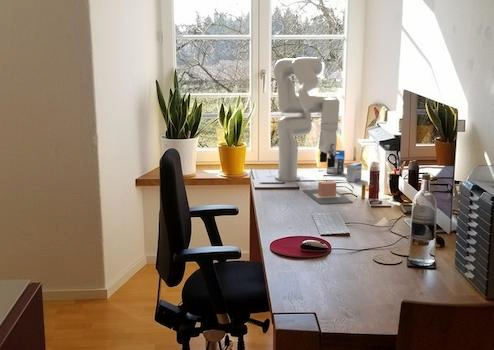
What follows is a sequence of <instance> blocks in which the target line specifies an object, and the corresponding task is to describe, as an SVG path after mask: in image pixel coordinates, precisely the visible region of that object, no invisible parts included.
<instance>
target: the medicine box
mask: <svg viewBox="0 0 494 350" xmlns="http://www.w3.org/2000/svg"><path fill="white" fill-rule="evenodd" d="M362 165H363V163H361V162H353V163H350V164H347V165H346V182H349V183H357V182H359V181H361V180H362V171H363V170H362V167H363V166H362Z"/></svg>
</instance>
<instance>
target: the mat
mask: <svg viewBox="0 0 494 350" xmlns="http://www.w3.org/2000/svg"><path fill="white" fill-rule="evenodd" d="M302 193H304V194H306V195H307V196H308V197H309V198H310V199H312V200H313V201H314V202H316V203H317V204H318V205H333V204H334V205H336V204H338V205H339V204H353V203H354V202H353V200H351V199H349V198H348V197H346V195H343V194H342V193H340V192H339V191H337V190H336V196H328V197H321V196H319V195H318V188H315V189H302Z"/></svg>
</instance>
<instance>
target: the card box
mask: <svg viewBox="0 0 494 350" xmlns="http://www.w3.org/2000/svg"><path fill="white" fill-rule="evenodd" d="M317 184H318V187H317V189H318V195H319V196H321V197H328V196H336V191H337V182H336V181H333V180H328V181H327V180H326V181H318V183H317Z"/></svg>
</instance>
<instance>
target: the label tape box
mask: <svg viewBox="0 0 494 350" xmlns="http://www.w3.org/2000/svg"><path fill="white" fill-rule="evenodd" d="M345 152H346V151H345V150H338V149H336V156H335V167H327V166H326V174H332V175H333V174H335V175H344V173H345V157H346V155H345ZM330 155H331V154H330ZM328 158H329V157H328V156H327V162H326V164H327V163H328Z"/></svg>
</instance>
